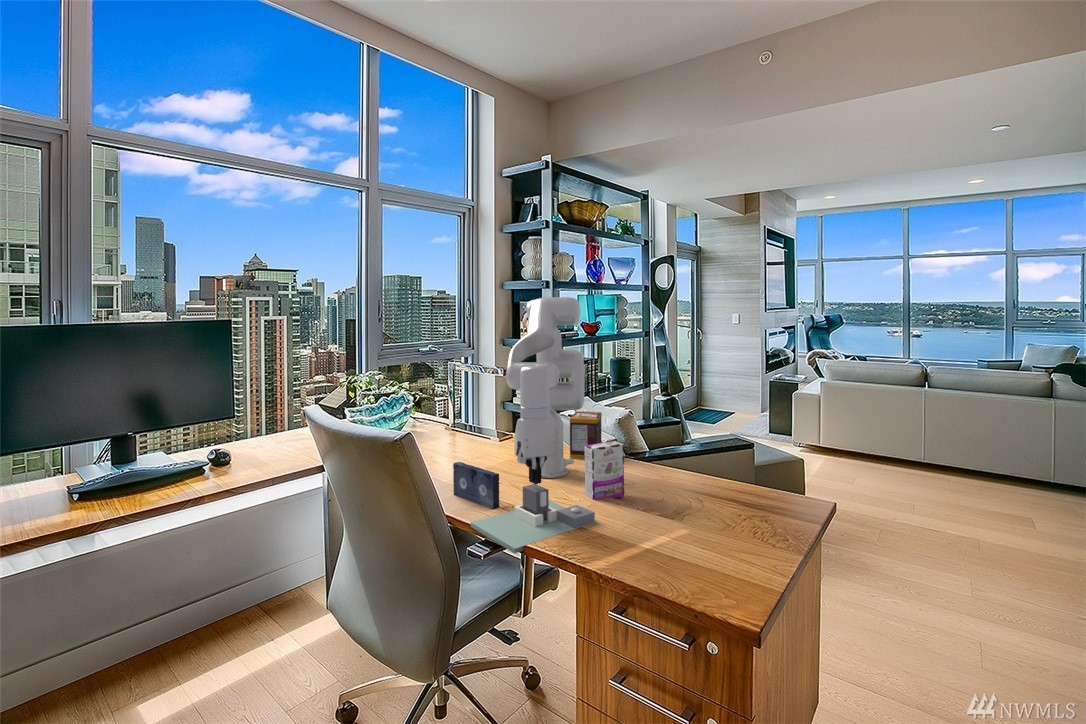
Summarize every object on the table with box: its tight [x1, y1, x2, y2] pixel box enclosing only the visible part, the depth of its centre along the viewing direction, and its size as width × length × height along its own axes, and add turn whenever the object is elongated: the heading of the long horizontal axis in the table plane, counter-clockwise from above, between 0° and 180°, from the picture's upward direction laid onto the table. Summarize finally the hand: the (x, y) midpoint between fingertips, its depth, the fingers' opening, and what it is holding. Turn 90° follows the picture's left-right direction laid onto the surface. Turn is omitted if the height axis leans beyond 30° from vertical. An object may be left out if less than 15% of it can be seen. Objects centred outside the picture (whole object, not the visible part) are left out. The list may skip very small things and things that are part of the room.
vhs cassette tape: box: [452, 461, 500, 510], centre depth 159 cm, size 18×3×10 cm, turn 45°
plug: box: [522, 483, 550, 521], centre depth 142 cm, size 4×7×8 cm, turn 37°
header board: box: [470, 500, 598, 554], centre depth 140 cm, size 26×20×4 cm
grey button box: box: [557, 504, 596, 528], centre depth 140 cm, size 7×7×3 cm
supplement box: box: [569, 410, 602, 460], centre depth 210 cm, size 10×15×16 cm
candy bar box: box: [584, 440, 625, 501], centre depth 160 cm, size 11×5×16 cm, turn 117°
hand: (535, 482), depth 141 cm, fingers closed
